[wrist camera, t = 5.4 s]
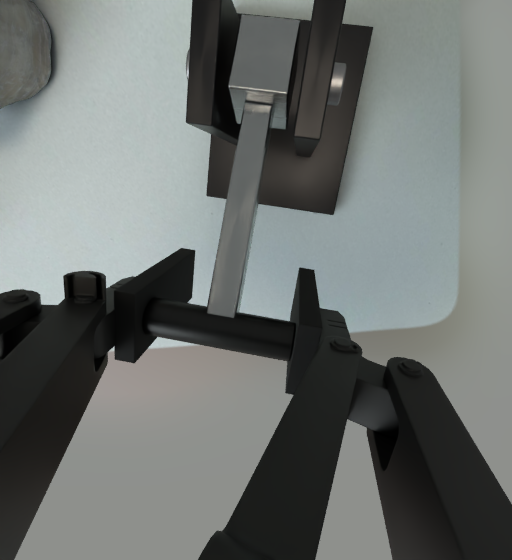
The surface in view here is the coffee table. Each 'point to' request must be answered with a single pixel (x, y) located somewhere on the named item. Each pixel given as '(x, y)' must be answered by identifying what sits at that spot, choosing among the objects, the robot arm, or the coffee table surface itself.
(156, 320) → the lever
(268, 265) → the coffee table surface
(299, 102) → the bracket
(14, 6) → the decorative stone
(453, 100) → the coffee table surface
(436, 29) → the coffee table surface
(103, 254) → the coffee table surface
